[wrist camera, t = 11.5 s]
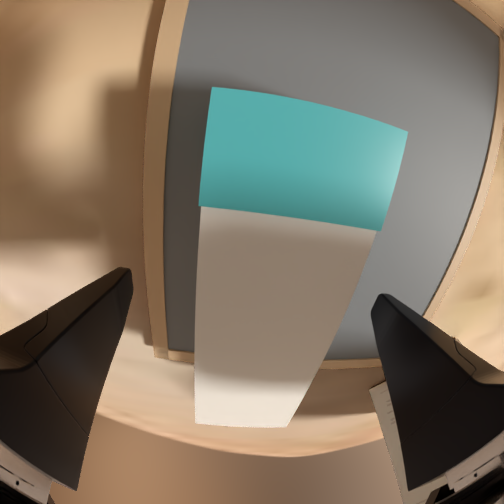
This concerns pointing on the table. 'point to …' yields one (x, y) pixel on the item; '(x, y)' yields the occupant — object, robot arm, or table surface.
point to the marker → (281, 246)
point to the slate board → (341, 97)
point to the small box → (398, 446)
